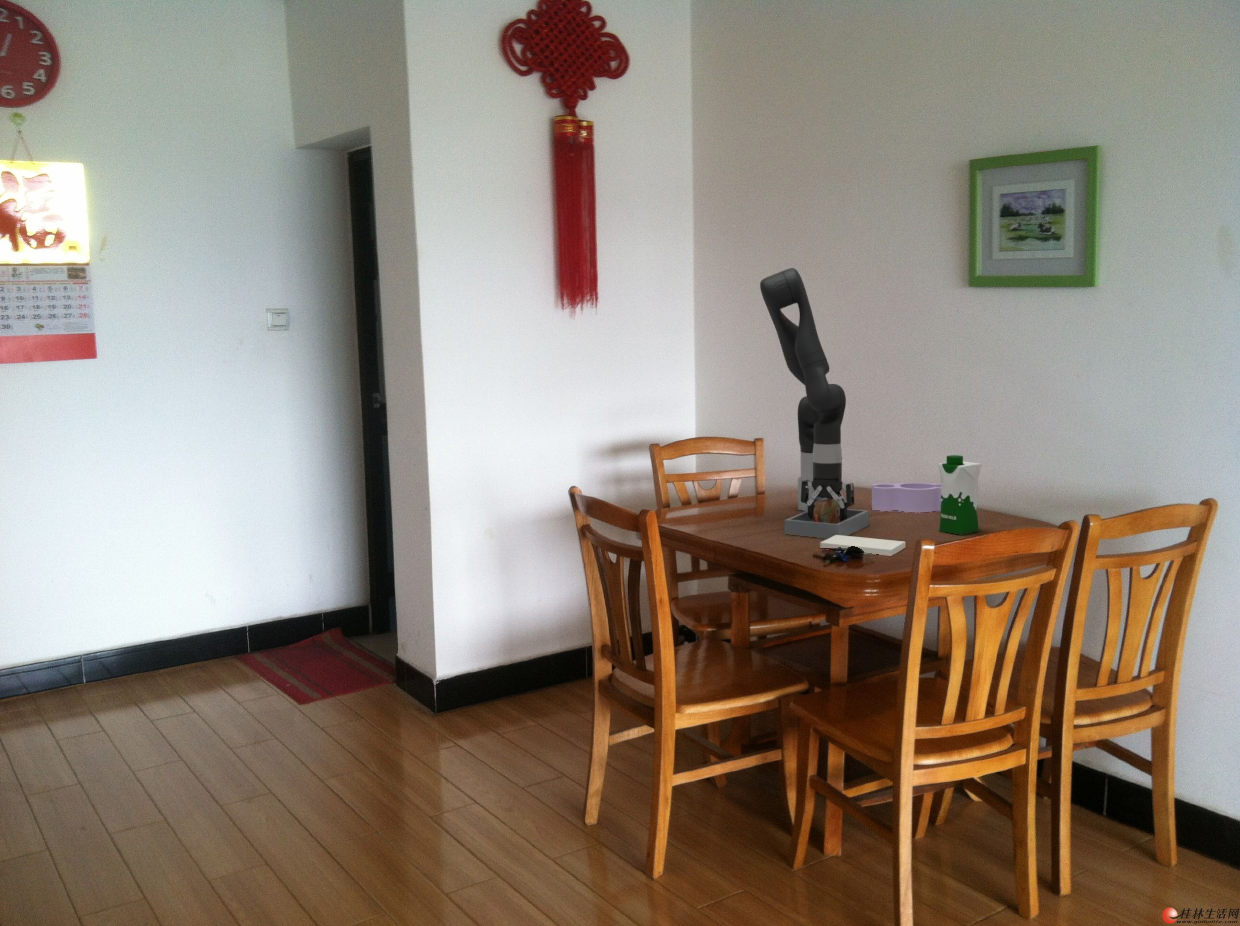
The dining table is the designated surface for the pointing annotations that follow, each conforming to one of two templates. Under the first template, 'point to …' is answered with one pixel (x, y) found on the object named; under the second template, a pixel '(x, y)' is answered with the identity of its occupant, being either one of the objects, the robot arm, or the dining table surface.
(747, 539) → the dining table surface
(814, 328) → the robot arm
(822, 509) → the tin
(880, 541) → the cream board
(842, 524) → the bin
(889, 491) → the clip
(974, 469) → the milk carton
